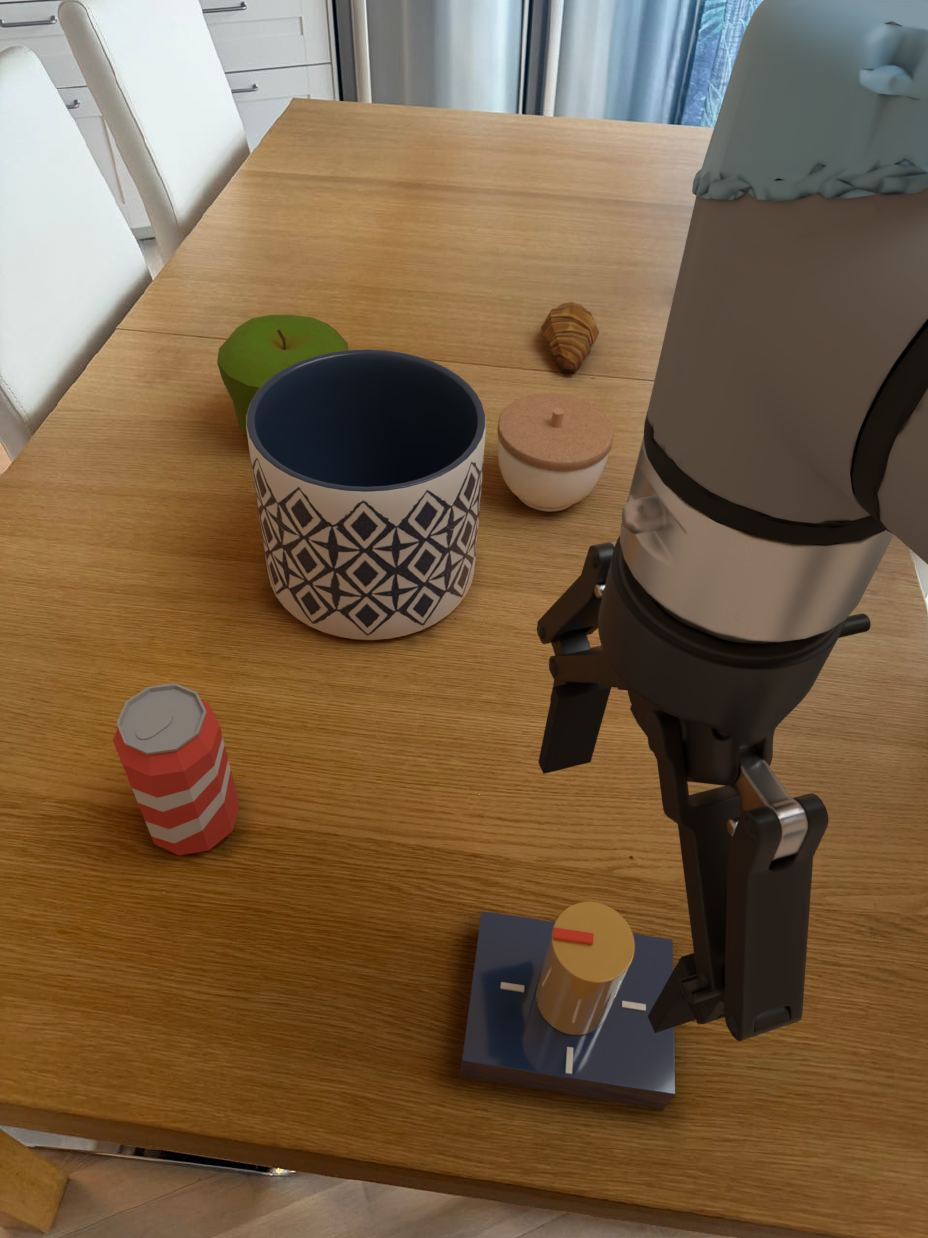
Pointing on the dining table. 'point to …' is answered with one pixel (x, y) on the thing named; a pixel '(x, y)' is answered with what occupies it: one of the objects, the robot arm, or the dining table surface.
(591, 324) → the croissant
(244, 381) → the apple
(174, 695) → the beverage can
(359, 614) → the planter
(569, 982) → the valve knob
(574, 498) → the trinket box
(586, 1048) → the valve plate
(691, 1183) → the dining table surface
